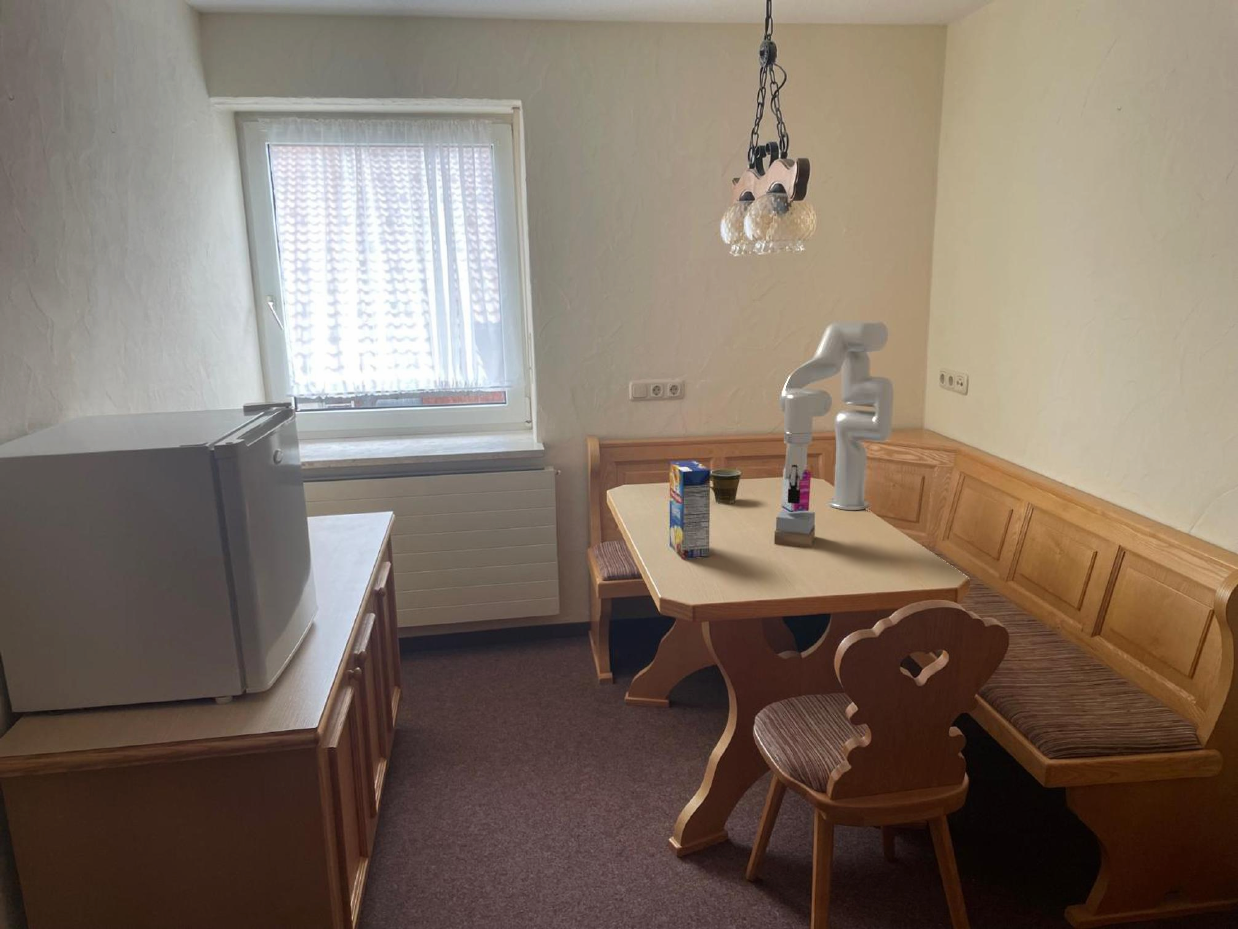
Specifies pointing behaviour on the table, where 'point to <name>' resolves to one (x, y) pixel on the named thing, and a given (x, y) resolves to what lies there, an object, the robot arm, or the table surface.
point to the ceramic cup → (725, 484)
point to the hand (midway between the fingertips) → (795, 498)
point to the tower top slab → (795, 521)
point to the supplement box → (804, 493)
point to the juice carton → (689, 509)
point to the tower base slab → (794, 538)
